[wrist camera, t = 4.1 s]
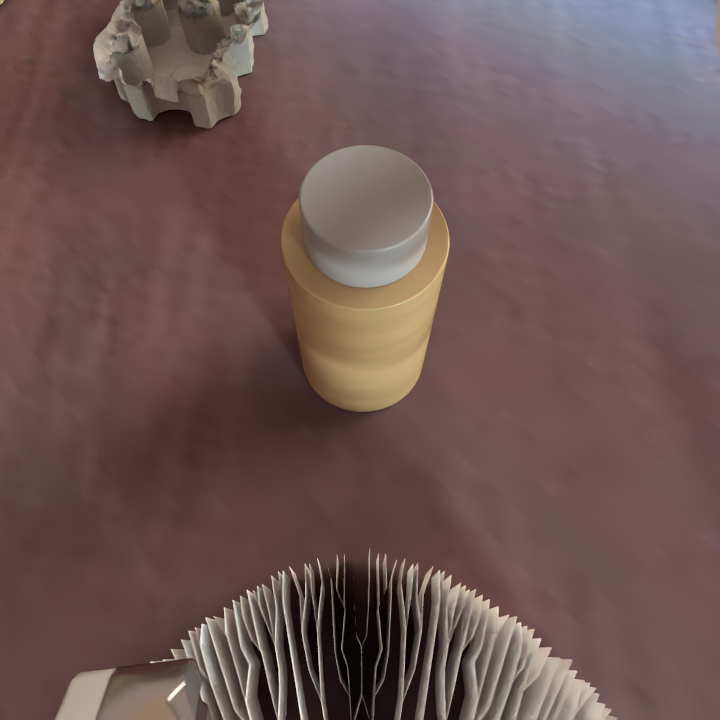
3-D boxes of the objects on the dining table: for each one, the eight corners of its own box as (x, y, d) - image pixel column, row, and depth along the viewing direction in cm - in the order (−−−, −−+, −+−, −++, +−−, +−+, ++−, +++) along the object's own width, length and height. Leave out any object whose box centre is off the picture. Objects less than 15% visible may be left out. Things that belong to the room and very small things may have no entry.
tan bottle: (278, 346, 29) (236, 181, 19) (372, 283, 30) (380, 100, 20) (351, 436, 27) (348, 308, 17) (447, 365, 28) (497, 208, 18)
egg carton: (231, 139, 34) (216, 77, 30) (102, 116, 35) (71, 52, 31) (284, 11, 38) (276, -58, 35) (168, -8, 39) (148, -77, 35)
